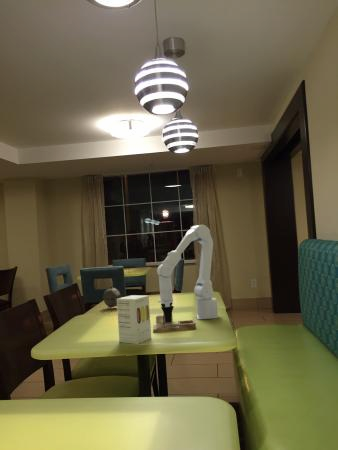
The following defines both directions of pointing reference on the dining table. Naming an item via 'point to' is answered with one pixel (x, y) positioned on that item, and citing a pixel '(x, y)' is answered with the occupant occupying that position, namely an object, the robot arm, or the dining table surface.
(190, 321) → the rail base
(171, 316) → the block
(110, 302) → the alarm clock
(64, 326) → the dining table surface
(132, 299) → the supplement box
